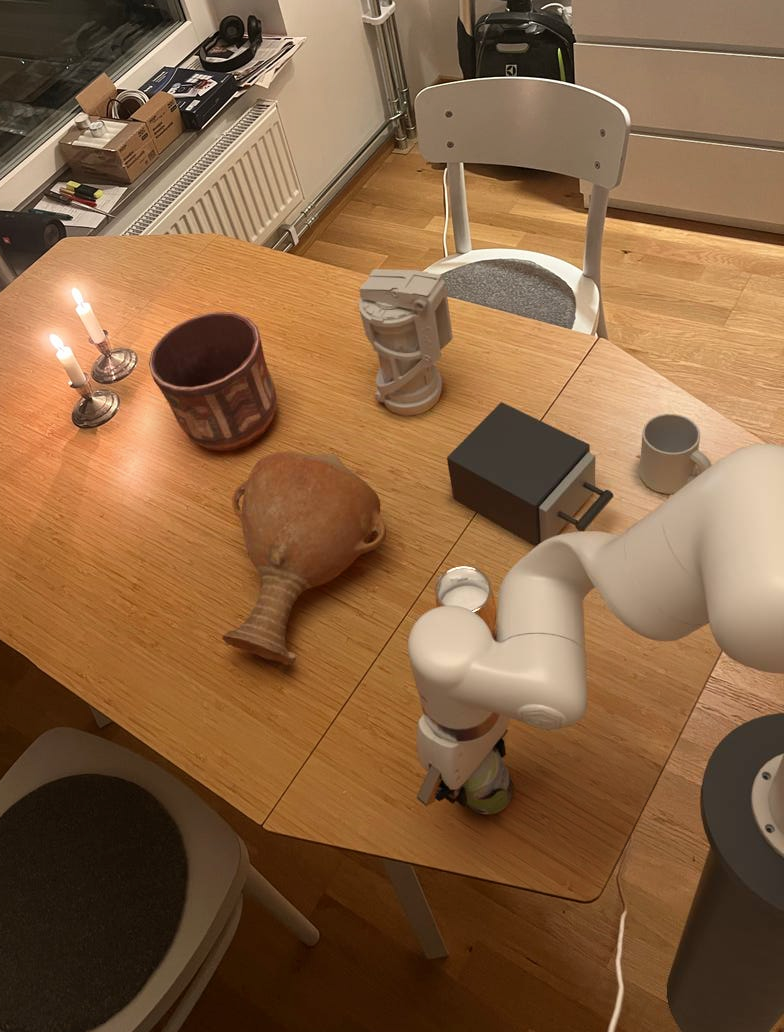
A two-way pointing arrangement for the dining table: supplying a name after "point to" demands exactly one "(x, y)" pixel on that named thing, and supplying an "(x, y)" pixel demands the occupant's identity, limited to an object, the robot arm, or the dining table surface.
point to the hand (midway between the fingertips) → (473, 771)
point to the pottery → (216, 379)
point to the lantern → (406, 335)
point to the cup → (670, 453)
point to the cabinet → (512, 468)
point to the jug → (299, 537)
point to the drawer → (572, 500)
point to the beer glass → (467, 592)
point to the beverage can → (489, 785)
